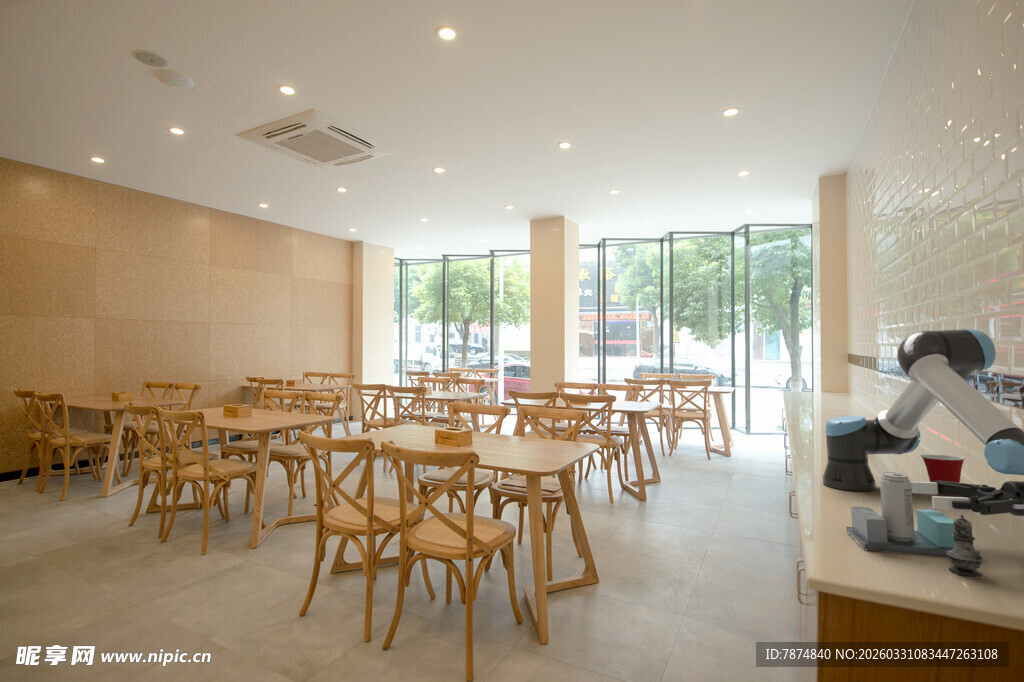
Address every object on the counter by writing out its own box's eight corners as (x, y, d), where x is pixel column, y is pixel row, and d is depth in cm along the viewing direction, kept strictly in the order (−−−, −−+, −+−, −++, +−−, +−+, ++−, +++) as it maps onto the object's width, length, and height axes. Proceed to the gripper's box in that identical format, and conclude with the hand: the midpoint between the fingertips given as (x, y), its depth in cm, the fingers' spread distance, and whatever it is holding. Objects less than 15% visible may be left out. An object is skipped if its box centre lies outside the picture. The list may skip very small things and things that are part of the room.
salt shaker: (939, 567, 106) (935, 510, 106) (964, 565, 106) (960, 509, 107) (966, 579, 100) (962, 519, 100) (993, 577, 100) (989, 518, 101)
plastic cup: (956, 489, 162) (954, 452, 162) (975, 498, 152) (972, 459, 152) (916, 487, 165) (914, 451, 166) (932, 496, 155) (929, 458, 156)
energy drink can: (886, 531, 123) (883, 470, 124) (917, 537, 119) (913, 474, 119) (880, 537, 119) (876, 474, 120) (911, 544, 115) (907, 478, 115)
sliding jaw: (917, 531, 122) (916, 509, 122) (937, 533, 121) (935, 510, 121) (939, 547, 113) (937, 522, 113) (960, 548, 111) (959, 523, 112)
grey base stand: (846, 532, 127) (845, 505, 128) (950, 538, 121) (948, 509, 121) (864, 550, 116) (863, 520, 116) (980, 558, 110) (978, 526, 110)
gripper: (1076, 535, 99) (947, 528, 106) (997, 500, 123) (896, 496, 129) (1073, 497, 99) (945, 492, 106) (995, 469, 123) (894, 467, 130)
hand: (918, 494), depth 118 cm, fingers open, 13 cm apart
